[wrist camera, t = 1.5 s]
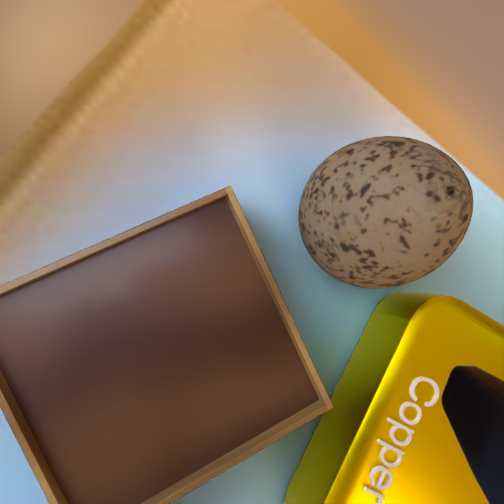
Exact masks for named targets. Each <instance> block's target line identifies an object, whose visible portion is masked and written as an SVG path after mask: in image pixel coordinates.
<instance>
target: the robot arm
mask: <svg viewBox="0 0 504 504" xmlns="http://www.w3.org/2000/svg"><path fill="white" fill-rule="evenodd" d="M441 401H442V407H443V409H444V412H445V414H446V416H447V418H448V420H449V422H450V425H451V427H452V429H453V431H454V433H455V436H456V438H457V440H458V442H459V444H460V447H461V449H462V451H463V453H464V455H465V458H466V460H467V462H468V464H469V466H470V468H471V470H472V472H473V475H474V477H475V479H476V481H477V482H478V484H479V486H480V488H481V490H482V492H483V493H484V495H485V497H486V499H487V501H488V502H489V504H504V381H503V380H501V379H499V378H497V377H495V376H494V375H492V374H490V373H488V372H486V371H484V370H482V369H480V368H478V367H476V366H472V365H467V366H456V367H454V368H453V369H452V370H451V372H450V375H449V378H448V380H447V383H446V386H445V388H444V391H443V393H442V398H441Z"/></svg>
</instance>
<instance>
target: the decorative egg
mask: <svg viewBox="0 0 504 504" xmlns="http://www.w3.org/2000/svg"><path fill="white" fill-rule="evenodd" d="M472 212H473V194H472V189H471V186H470V183H469V180H468V178H467V177H466V175H465V173H464V171H463V170H462V169H461V168H460V166H459V165H458V164H457V163H456V162H455V161H454V160H453V159H452V158H451V157H449V156H448V155H447V154H445V153H444V152H442V151H441V150H439V149H437V148H435V147H433V146H432V145H430V144H427V143H424V142H421V141H418V140H415V139H411V138H405V137H393V136H384V137H374V138H369V139H364V140H361V141H357V142H354V143H352V144H349V145H347V146H345V147H343V148H341V149H339V150H338V151H336V152H334V153H333V154H332V155H331V156H329V157H328V158H327V159H325V160H324V161H323V162H322V163H321V164H320V165H319V166H318V168H317V169H316V170H315V171H314V173H313V174H312V175H311V177H310V179H309V180H308V182H307V184H306V186H305V188H304V191H303V193H302V197H301V200H300V205H299V228H300V233H301V237H302V240H303V242H304V245H305V247H306V249H307V251H308V252H309V254H310V255H311V257H312V258H313V259H314V261H315V262H316V263H317V264H318V265H319V266H320V267H321V268H322V269H323V270H324V271H326V272H327V273H328V274H330V275H331V276H333V277H335V278H336V279H338V280H340V281H343V282H345V283H348V284H351V285H355V286H358V287H363V288H390V287H395V286H400V285H404V284H407V283H410V282H412V281H415V280H417V279H419V278H422V277H424V276H426V275H427V274H429V273H430V272H432V271H434V270H435V269H437V268H438V267H439V266H440V265H441V264H443V263H444V262H445V261H446V260H447V259H448V258H449V257H450V256H451V255H452V254H453V252H454V251H455V250H456V248H457V247H458V245H459V244H460V243H461V241H462V240H463V238H464V236H465V234H466V232H467V229H468V227H469V224H470V221H471V217H472Z"/></svg>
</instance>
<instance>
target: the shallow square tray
mask: <svg viewBox="0 0 504 504" xmlns="http://www.w3.org/2000/svg"><path fill="white" fill-rule="evenodd" d="M0 408H1V410H2V412H3V414H4V416H5V418H6V420H7V422H8V423H9V425H10V427H11V429H12V431H13V433H14V435H15V437H16V439H17V441H18V443H19V445H20V447H21V449H22V451H23V453H24V455H25V457H26V459H27V461H28V463H29V465H30V467H31V469H32V471H33V473H34V475H35V477H36V479H37V480H38V482H39V484H40V486H41V488H42V490H43V492H44V494H45V496H46V498H47V500H48V502H49V504H170V503H172V502H174V501H175V500H177V499H179V498H181V497H182V496H184V495H186V494H187V493H189V492H191V491H192V490H194V489H196V488H197V487H199V486H201V485H203V484H204V483H206V482H208V481H209V480H211V479H213V478H214V477H216V476H218V475H219V474H221V473H223V472H225V471H226V470H228V469H230V468H231V467H233V466H235V465H236V464H238V463H240V462H241V461H243V460H245V459H247V458H248V457H250V456H252V455H253V454H255V453H257V452H258V451H260V450H262V449H263V448H265V447H267V446H268V445H270V444H272V443H274V442H275V441H277V440H279V439H280V438H282V437H284V436H285V435H287V434H289V433H290V432H292V431H294V430H296V429H297V428H299V427H301V426H302V425H304V424H306V423H307V422H309V421H311V420H312V419H314V418H316V417H318V416H319V415H321V414H323V413H324V412H326V411H328V410H329V409H331V408H333V405H332V402H331V400H330V398H329V396H328V394H327V392H326V390H325V387H324V385H323V383H322V381H321V379H320V377H319V375H318V372H317V370H316V368H315V366H314V364H313V362H312V359H311V357H310V355H309V353H308V351H307V349H306V347H305V344H304V342H303V340H302V338H301V336H300V334H299V331H298V329H297V327H296V325H295V323H294V321H293V319H292V316H291V314H290V312H289V310H288V308H287V306H286V304H285V301H284V299H283V297H282V295H281V293H280V291H279V288H278V286H277V284H276V282H275V280H274V278H273V276H272V273H271V271H270V269H269V267H268V265H267V263H266V260H265V258H264V256H263V254H262V252H261V250H260V248H259V245H258V243H257V241H256V239H255V237H254V235H253V232H252V230H251V228H250V226H249V224H248V222H247V220H246V217H245V215H244V213H243V211H242V209H241V207H240V205H239V202H238V200H237V198H236V196H235V194H234V192H233V189H232V187H231V186H228V187H226V188H224V189H221V190H219V191H217V192H214V193H212V194H210V195H207V196H205V197H203V198H201V199H198V200H196V201H194V202H191V203H189V204H187V205H185V206H182V207H180V208H178V209H175V210H173V211H171V212H169V213H166V214H164V215H162V216H159V217H157V218H155V219H152V220H150V221H148V222H146V223H143V224H141V225H139V226H136V227H134V228H132V229H130V230H127V231H125V232H123V233H120V234H118V235H116V236H114V237H111V238H109V239H107V240H104V241H102V242H100V243H97V244H95V245H93V246H91V247H88V248H86V249H84V250H81V251H79V252H77V253H75V254H72V255H70V256H68V257H65V258H63V259H61V260H59V261H56V262H54V263H52V264H49V265H47V266H45V267H43V268H40V269H38V270H36V271H33V272H31V273H29V274H26V275H24V276H22V277H20V278H17V279H15V280H13V281H10V282H8V283H6V284H4V285H1V286H0Z"/></svg>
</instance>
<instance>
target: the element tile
mask: <svg viewBox="0 0 504 504" xmlns="http://www.w3.org/2000/svg"><path fill="white" fill-rule="evenodd" d="M467 365H472V366H476V367H478V368H480V369H482V370H484V371H486V372H488V373H490V374H492V375H494V376H495V377H497V378H499V379H501V380H503V381H504V326H503V325H501V324H499V323H498V322H496V321H494V320H493V319H491V318H489V317H488V316H486V315H484V314H483V313H481V312H480V311H478V310H476V309H475V308H473V307H471V306H470V305H468V304H466V303H465V302H463V301H461V300H459V299H457V298H454V297H451V296H444V295H433V294H422V293H411V292H396V293H393V294H390V295H388V296H387V297H386V298H385V299H383V300H382V301H381V302H380V303H379V304H378V305H377V307H376V308H375V310H374V311H373V313H372V315H371V317H370V319H369V321H368V323H367V325H366V327H365V329H364V331H363V333H362V335H361V337H360V340H359V342H358V344H357V346H356V348H355V350H354V352H353V354H352V356H351V358H350V360H349V362H348V364H347V366H346V368H345V370H344V372H343V374H342V376H341V379H340V381H339V383H338V385H337V387H336V389H335V391H334V393H333V395H332V397H331V399H330V400H331V402H332V405H333V408H331V409H329V410H328V411H326V412H324V413H323V415H322V418H321V420H320V422H319V424H318V426H317V428H316V430H315V432H314V434H313V436H312V438H311V440H310V442H309V444H308V446H307V448H306V450H305V452H304V454H303V457H302V459H301V461H300V463H299V465H298V467H297V469H296V471H295V473H294V475H293V477H292V479H291V481H290V483H289V486H288V489H287V492H286V497H285V504H489V502H488V501H487V499H486V497H485V495H484V493H483V492H482V490H481V488H480V486H479V484H478V482H477V481H476V479H475V477H474V475H473V472H472V470H471V468H470V466H469V464H468V462H467V460H466V458H465V455H464V453H463V451H462V449H461V447H460V444H459V442H458V440H457V438H456V436H455V433H454V431H453V429H452V427H451V425H450V422H449V420H448V418H447V416H446V414H445V412H444V409H443V407H442V401H441V398H442V393H443V391H444V388H445V386H446V383H447V380H448V378H449V375H450V372H451V370H452V369H453V368H454V367H456V366H467Z"/></svg>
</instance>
